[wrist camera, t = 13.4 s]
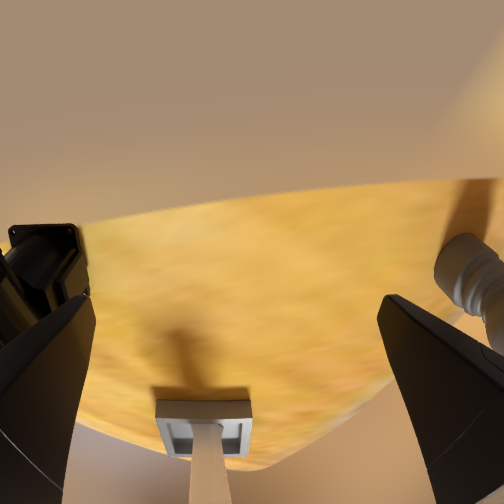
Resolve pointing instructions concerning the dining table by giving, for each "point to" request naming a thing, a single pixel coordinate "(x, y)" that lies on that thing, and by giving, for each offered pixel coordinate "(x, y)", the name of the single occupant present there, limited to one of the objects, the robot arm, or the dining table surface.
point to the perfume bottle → (208, 466)
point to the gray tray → (204, 412)
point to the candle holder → (474, 283)
